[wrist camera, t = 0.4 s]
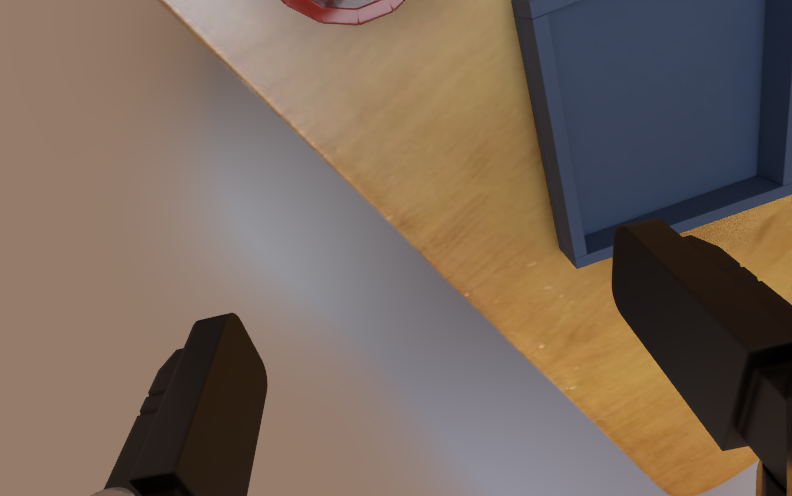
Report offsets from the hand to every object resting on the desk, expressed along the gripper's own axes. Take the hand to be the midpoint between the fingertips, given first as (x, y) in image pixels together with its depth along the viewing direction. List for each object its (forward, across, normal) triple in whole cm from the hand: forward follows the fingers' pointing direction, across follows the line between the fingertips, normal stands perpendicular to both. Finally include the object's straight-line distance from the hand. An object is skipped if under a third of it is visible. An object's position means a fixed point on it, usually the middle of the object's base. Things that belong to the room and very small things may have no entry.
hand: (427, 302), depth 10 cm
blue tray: (+19, -15, +4) cm, 24 cm away
